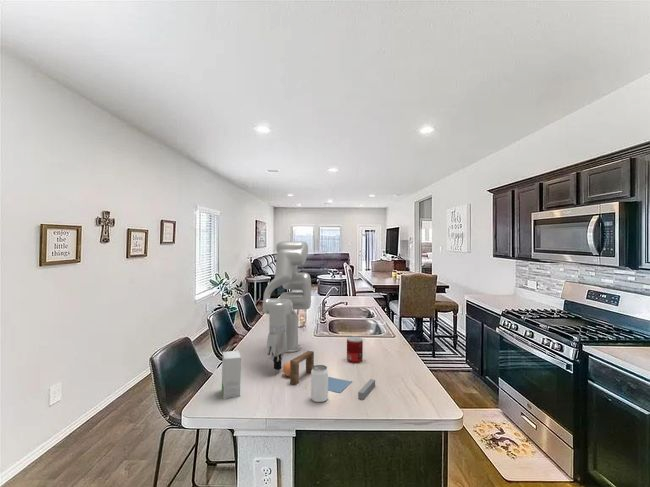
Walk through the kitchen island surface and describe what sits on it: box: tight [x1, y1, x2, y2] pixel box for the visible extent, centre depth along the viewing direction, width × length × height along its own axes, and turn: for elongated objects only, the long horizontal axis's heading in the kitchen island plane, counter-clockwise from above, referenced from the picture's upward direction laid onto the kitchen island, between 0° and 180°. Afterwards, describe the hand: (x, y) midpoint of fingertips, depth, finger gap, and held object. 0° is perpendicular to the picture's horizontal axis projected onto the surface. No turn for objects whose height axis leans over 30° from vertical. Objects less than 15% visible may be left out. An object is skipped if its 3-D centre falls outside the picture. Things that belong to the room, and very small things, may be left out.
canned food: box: [346, 336, 364, 364], centre depth 172 cm, size 8×8×11 cm
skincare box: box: [221, 350, 242, 400], centre depth 135 cm, size 8×7×16 cm
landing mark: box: [328, 376, 353, 394], centre depth 143 cm, size 12×12×1 cm
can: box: [310, 364, 329, 403], centre depth 130 cm, size 6×6×12 cm
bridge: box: [289, 350, 315, 386], centre depth 150 cm, size 3×15×10 cm, turn 153°
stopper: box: [357, 378, 376, 400], centre depth 136 cm, size 2×14×2 cm, turn 153°
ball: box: [282, 361, 290, 377], centre depth 152 cm, size 6×6×6 cm
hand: (277, 369), depth 156 cm, fingers closed
